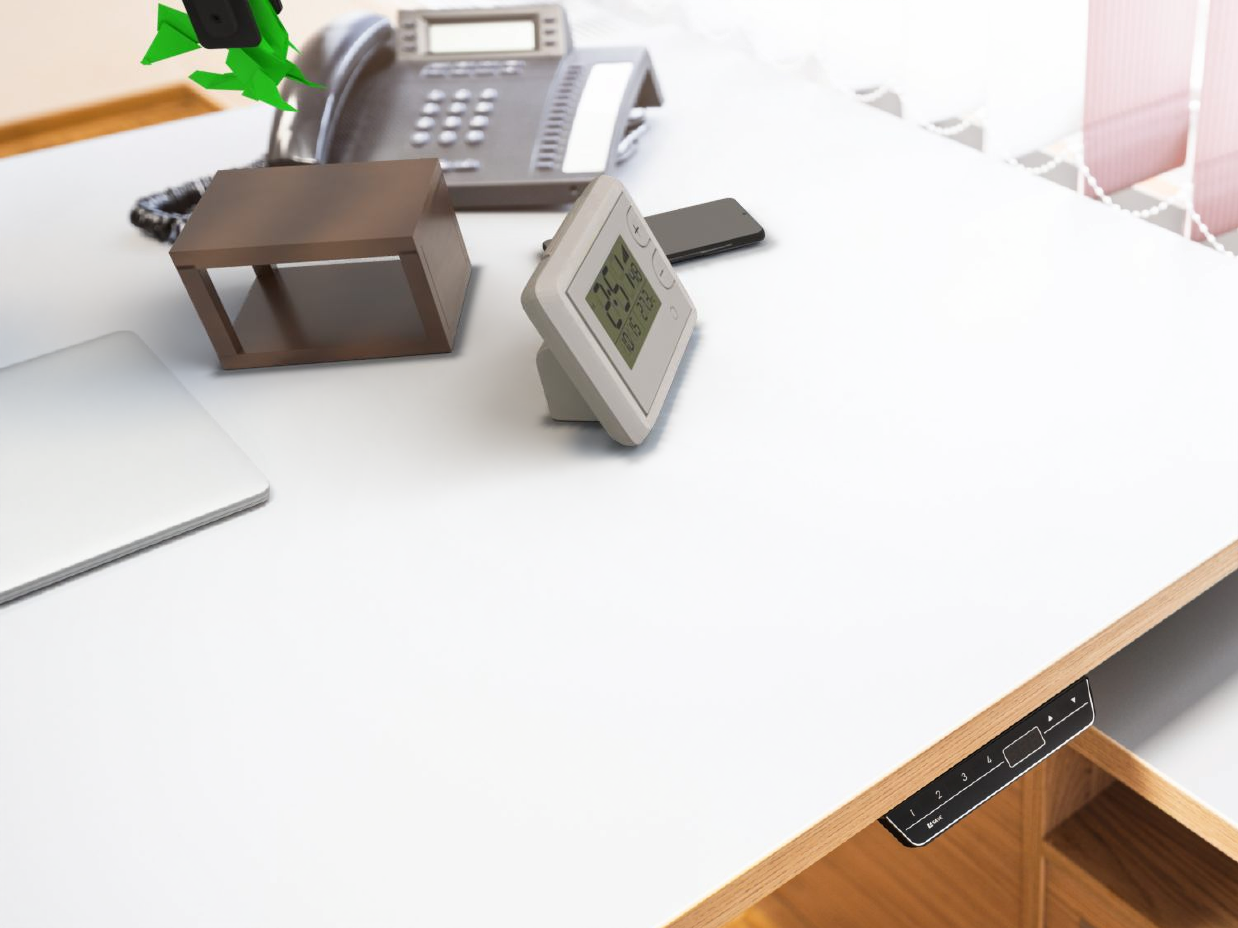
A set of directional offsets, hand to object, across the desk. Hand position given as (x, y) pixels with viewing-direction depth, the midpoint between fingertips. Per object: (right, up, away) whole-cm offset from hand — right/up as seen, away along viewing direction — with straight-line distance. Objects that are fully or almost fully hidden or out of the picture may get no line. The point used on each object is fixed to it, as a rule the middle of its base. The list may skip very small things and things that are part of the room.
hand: (243, 26), depth 77 cm
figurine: (0, -3, +3) cm, 4 cm away
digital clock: (+21, -19, +8) cm, 29 cm away
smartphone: (+18, -6, +21) cm, 28 cm away
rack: (0, -13, +13) cm, 19 cm away
